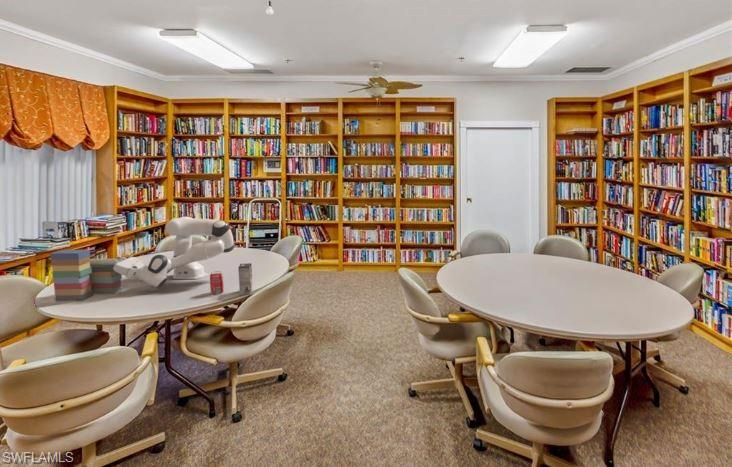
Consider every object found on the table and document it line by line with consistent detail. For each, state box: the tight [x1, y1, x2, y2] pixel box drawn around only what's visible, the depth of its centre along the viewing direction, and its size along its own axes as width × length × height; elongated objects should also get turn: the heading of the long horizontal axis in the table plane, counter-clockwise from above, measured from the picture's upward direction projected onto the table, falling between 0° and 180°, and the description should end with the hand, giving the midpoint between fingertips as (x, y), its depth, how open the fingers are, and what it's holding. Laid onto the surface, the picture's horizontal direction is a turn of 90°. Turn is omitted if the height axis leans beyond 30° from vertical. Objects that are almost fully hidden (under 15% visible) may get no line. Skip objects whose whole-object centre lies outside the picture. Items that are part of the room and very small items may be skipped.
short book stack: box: [89, 265, 123, 295], centre depth 233 cm, size 16×10×16 cm, turn 94°
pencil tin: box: [90, 258, 125, 265], centre depth 231 cm, size 24×4×3 cm, turn 94°
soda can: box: [209, 270, 225, 295], centre depth 232 cm, size 7×7×12 cm
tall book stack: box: [49, 249, 94, 302], centre depth 220 cm, size 14×10×26 cm
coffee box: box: [237, 262, 253, 295], centre depth 233 cm, size 9×6×16 cm
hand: (114, 258), depth 232 cm, fingers open, 4 cm apart
